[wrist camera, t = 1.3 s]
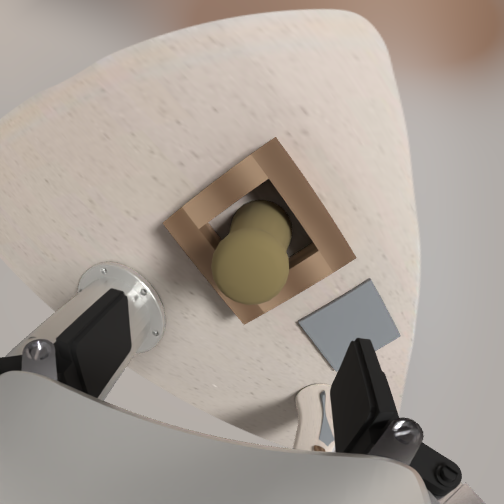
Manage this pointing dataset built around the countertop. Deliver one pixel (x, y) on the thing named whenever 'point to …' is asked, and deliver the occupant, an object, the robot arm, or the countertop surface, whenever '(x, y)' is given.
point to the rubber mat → (350, 323)
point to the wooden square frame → (299, 201)
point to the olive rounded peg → (254, 254)
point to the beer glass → (314, 419)
